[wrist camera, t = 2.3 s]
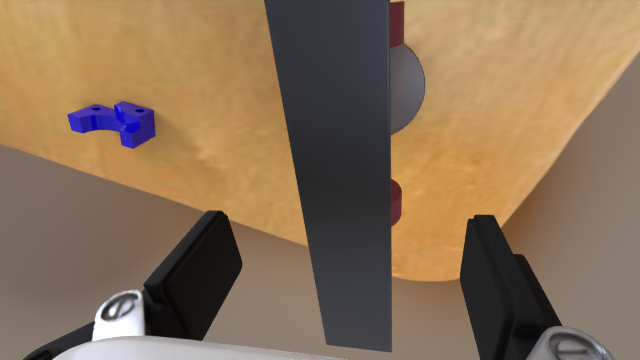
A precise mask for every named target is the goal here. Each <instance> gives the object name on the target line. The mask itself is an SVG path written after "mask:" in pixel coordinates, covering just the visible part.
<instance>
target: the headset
mask: <svg viewBox="0 0 640 360" xmlns="http://www.w3.org/2000/svg"><path fill="white" fill-rule="evenodd" d="M264 3H265V9H266V14H267V20H268V25H269V31H270V36H271V42H272V47H273V53H274V58H275V64H276V69H277V75H278V80H279V86H280V91H281V97H282V102H283V108H284V113H285V119H286V124H287V130H288V135H289V141H290V146H291V152H292V157H293V163H294V168H295V174H296V179H297V185H298V190H299V196H300V201H301V207H302V212H303V218H304V223H305V229H306V235H307V240H308V246H309V251H310V256H311V262H312V268H313V273H314V279H315V284H316V289H317V295H318V301H319V306H320V312H321V317H322V323H323V328H324V333H325V339H326V344H327V345H333V346H342V347H350V348H358V349H367V350H375V351H383V352H392V287H391V286H392V280H391V279H392V265H391V227H392V226H393V225H395V224H396V223H397V222H398V220H399V219H400V217H401V200H402V191H401V187H400V186H399V184H398V183H397V182H395V181H394V180H392V179H391V105H390V48H393V47H396V46H399V45H401V44H403V43H404V1H399V2H391V3H390V0H264Z"/></svg>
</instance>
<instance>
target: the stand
mask: <svg viewBox="0 0 640 360" xmlns="http://www.w3.org/2000/svg"><path fill="white" fill-rule="evenodd" d="M424 93H425V77H424V72H423V69H422V66H421V64H420V62H419V60H418V58H417V57H416V55H415V54H414V52H413V51H412V50H411V49H410V48H409V47H408V46H407V45H405V44H404V43H403V44H401V45H399V46H396V47H393V48H390V105H391V135H392V134H394V133H396V132H398V131H400V130H401V129H403V128H404V127H405V126H406V125H408V124H409V123H410V122H411V121H412V119H413V118H414V117H415V115H416V114H417V112H418V111H419V109H420V107H421V104H422V102H423V98H424Z"/></svg>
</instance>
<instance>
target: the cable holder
mask: <svg viewBox="0 0 640 360" xmlns="http://www.w3.org/2000/svg"><path fill="white" fill-rule="evenodd" d="M114 108H115V110H113V109H110V108H106V107H103V106H99V105H96V104H95V105H93V106H90V107H87V108H84V109H81V110H79V111H76V112H73V113H70V114H68V118H69V122H70V126H71V130H73V131H76V132H79V133H86V132H89V131H94V130H113V131H118V132H120V137H121V144H122V145H123V146H126V147H129V148H132V149H134V148H136V147H137V146H139V145H141V144H143V143H144V142H146V141H148V140H149V139H151V138H153V137H155V124H154V113H153V110H150V109H147V108H143V107H140V106H136V105H133V104H130V103H126V102H121V103H119V104H116V105H114Z"/></svg>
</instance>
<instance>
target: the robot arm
mask: <svg viewBox="0 0 640 360" xmlns="http://www.w3.org/2000/svg"><path fill="white" fill-rule="evenodd" d="M241 269H242V260H241V256H240V253H239V250H238V247H237V244H236V241H235V238H234V235H233V232H232V228H231V225H230V222H229V219H228V216H227V215H226V214H224V212H223V211H211V210H209V211H207V212H206V213H205V214H204V215H203V216H202V217H201V218H200V220H199V221H198V222H197V223H196V224H195V225H194V226H193V228H192V229H191V230H190V231H189V232H188V233H187V234H186V236H185V237H184V238H183V239H182V240H181V241H180V242H179V244H178V245H177V246H176V247H175V248H174V249H173V250H172V252H171V253H170V254H169V255H168V256H167V257H166V258H165V260H164V261H163V262H162V263H161V264H160V265H159V267H158V268H157V269H156V270H155V271H154V272H153V273H152V275H151V276H150V277H149V278H148V279H147V280H146V281H145V283H144V284H143V285H144V287H145V289H144V290H143V291H142V292H141V291H139V290H136V289H131V290H126V291H123V292H120V293H118V294H116V295H114V296H113V297H111V298H110V299H108V300H107V301H106V302H105V303H104V304H103V305H102V306H101V307H100V308H99V310H98V311H97V314H96V317H95V321H93V322H92V323H89V324H87V325H85V326H83V327H81V328H79V329H77V330H75V331H73V332H71V333H69V334H67V335H65V336H62V337H60V338H59V339H57V340H55V341H52V342H50V343H48V344H46V345H44V346H42V347H40V348H38V349H37V350H35V351H33V352H32V353H30V354H29V355H28V356H26V357H25V358H24V359H23V360H351V359H343V358H335V357H327V356H319V355H312V354H303V353H296V352H288V351H279V350H271V349H263V348H255V347H247V346H238V345H230V344H221V343H213V342H205V341H202V340H203V338H204V336H205V335H206V333H207V331H208V329H209V327H210V326H211V324H212V322H213V320H214V318H215V317H216V315H217V313H218V311H219V309H220V308H221V306H222V304H223V302H224V300H225V298H226V297H227V295H228V293H229V291H230V289H231V287H232V286H233V284H234V282H235V280H236V279H237V277H238V275H239V273H240V271H241ZM460 282H461V287H462V291H463V294H464V298H465V302H466V306H467V310H468V314H469V317H470V321H471V325H472V329H473V333H474V337H475V341H476V344H477V348H478V352H479V356H480V360H615V359H614V358H613V356H612V355H611V354H610V352H609V351H608V350H607V349H606V348H605V347H604V346H603V345H602V344H601V343H600V342H599V341H597V340H596V339H594V338H593V337H591V336H590V335H588V334H586V333H584V332H582V331H580V330H577V329H574V328H570V327H566V326H562V324H561V322H560V320H559V319H558V317H557V315H556V313H555V311H554V309H553V308H552V306H551V304H550V302H549V300H548V298H547V297H546V295H545V293H544V291H543V289H542V287H541V286H540V283H539V282H538V280H537V278H536V276H535V274H534V272H533V271H532V269H531V267H530V265H529V263H528V261H527V260H526V258H525V257H524V256H523V255H521V254H513V253H512V251H511V249H510V247H509V245H508V243H507V241H506V239H505V237H504V235H503V233H502V231H501V229H500V227H499V225H498V223H497V221H496V219H495V217H494V216H493V215H475V216H474V218H473V219H468V222H467V229H466V236H465V243H464V250H463V257H462V264H461V271H460Z"/></svg>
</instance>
